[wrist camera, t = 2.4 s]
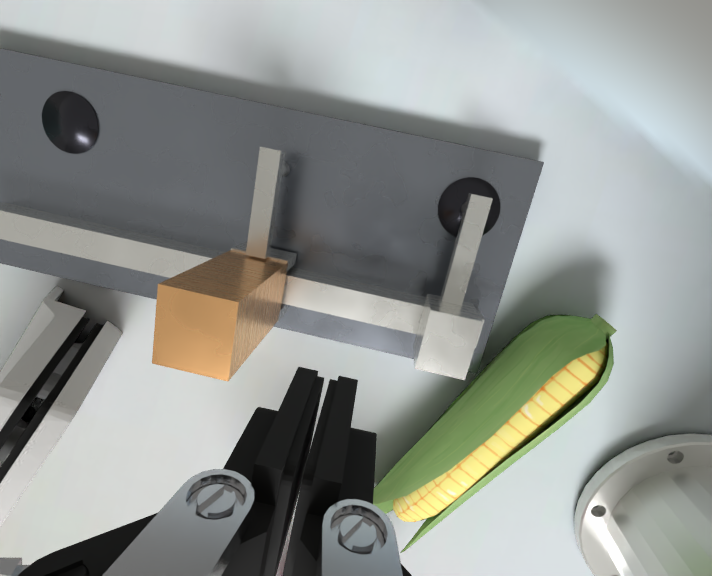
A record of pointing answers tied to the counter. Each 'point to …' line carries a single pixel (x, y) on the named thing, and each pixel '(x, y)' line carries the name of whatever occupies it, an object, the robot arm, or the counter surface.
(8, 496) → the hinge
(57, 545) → the counter surface
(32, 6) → the counter surface
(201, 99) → the flange plate
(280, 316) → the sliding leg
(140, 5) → the counter surface
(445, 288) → the gauge beam
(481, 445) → the edible corn
